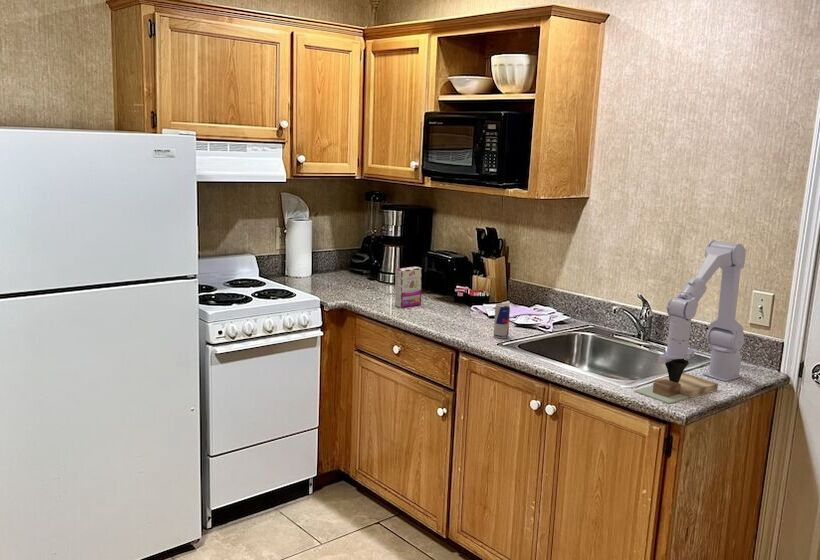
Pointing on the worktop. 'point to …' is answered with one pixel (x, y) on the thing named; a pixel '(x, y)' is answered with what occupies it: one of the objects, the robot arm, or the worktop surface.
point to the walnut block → (666, 388)
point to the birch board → (693, 385)
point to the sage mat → (649, 392)
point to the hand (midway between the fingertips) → (673, 383)
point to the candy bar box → (408, 287)
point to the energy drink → (501, 321)
